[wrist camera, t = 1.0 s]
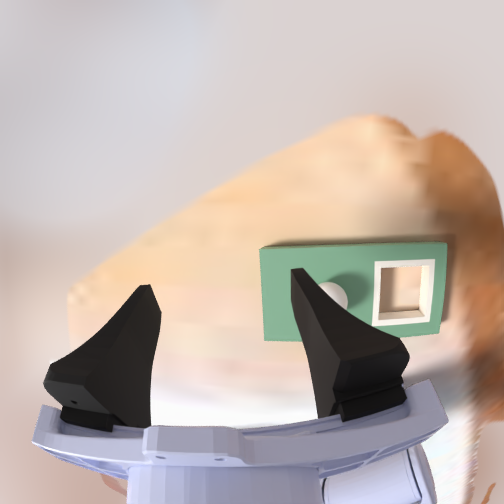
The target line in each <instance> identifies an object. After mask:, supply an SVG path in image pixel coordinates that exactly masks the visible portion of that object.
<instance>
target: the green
mask: <svg viewBox="0 0 504 504" xmlns="http://www.w3.org/2000/svg"><path fill="white" fill-rule="evenodd" d="M259 252H260V269H261V287H262V305H263V323H264V341H302V339H301V336H300V333H299V330H298V327H297V324H296V321H295V318H294V313H293V309H292V304H291V269H295V268H304V269H305V270H306V272H307V273H308V274H309V275H310V276H311V277H312V279H313V280H314V281H315V282H316V283H317V284H320V283H324V282H332V283H335V284H337V285H339V286H340V287H342V288H343V290H344V291H345V293H346V295H347V299H348V305H347V309H346V310H347V311H348V312H349V313H351V314H352V315H354V316H355V317H357V318H359V319H360V320H362V321H364V322H365V323H367V324H369V325H371V326H373V327H375V328H377V329H379V330H381V331H383V332H386V333H388V334H391V335H393V336H396V337H398V338H400V337H411V336H421V335H429V334H438V333H439V330H440V324H441V317H442V310H443V302H444V293H445V282H446V267H447V243H444V242H440V241H435V242H399V243H365V244H333V245H303V246H274V247H263V248H261V249H259ZM411 266H422V276H421V291H420V302H419V310H412V311H399V312H384V313H379V302H380V281H381V268H388V267H411Z"/></svg>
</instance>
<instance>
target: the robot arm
mask: <svg viewBox="0 0 504 504" xmlns="http://www.w3.org/2000/svg"><path fill="white" fill-rule="evenodd" d="M291 304H292V309H293V313H294V318H295V321H296V324H297V327H298V330H299V333H300V336H301V339H302V342H303V345H304V348H305V351H306V354H307V358H308V363H309V368H310V372H311V378H312V383H313V389H314V394H315V401H316V407H317V414H318V419H314V420H309V421H304V422H298V423H291V424H285V425H278V426H270V427H261V428H250V429H234V428H230V427H224V426H163V425H157V426H151V414H150V388H151V373H152V365H153V360H154V355H155V351H156V346H157V341H158V337H159V332H160V325H161V310H160V308H159V305H158V303H157V300H156V298H155V295H154V293H153V290H152V288H151V285H140V286H139V287H138V288H137V289H136V290H135V291H134V292H133V294H132V295H131V296H130V297H129V298H128V300H127V301H126V302H125V303H124V304H123V305H122V307H121V308H120V309H119V310H118V311H117V312H116V314H115V315H114V316H113V317H112V318H111V319H110V320H109V321H108V322H107V323H106V324H105V325H104V326H103V327H102V328H101V329H100V330H99V331H98V332H97V333H96V334H95V335H94V336H93V337H91V338H90V339H89V340H88V341H86V342H85V343H84V344H83V345H81V346H80V347H79V348H77V349H76V350H74V351H73V352H71V353H70V354H68V355H67V356H65V357H63V358H61V359H60V360H58V361H56V362H54V363H52V364H50V367H49V369H48V372H47V374H46V377H45V380H44V383H43V384H44V387H45V389H46V390H47V392H48V393H49V394H50V395H51V396H53V397H54V398H55V399H56V400H57V401H58V402H59V403H60V404H61V405H62V406H63V407H62V411H61V410H59V409H58V408H55V407H50V406H47V405H42V407H41V410H40V413H39V417H38V420H37V424H36V427H35V431H34V435H33V439H32V443H33V444H35V445H36V446H38V447H39V448H41V449H43V450H44V451H46V452H48V453H49V454H51V455H53V456H54V457H56V458H58V459H60V460H62V461H65V462H68V463H71V464H74V465H77V466H80V467H83V468H86V469H89V470H92V471H96V472H99V473H102V474H106V475H109V476H113V477H117V478H121V479H125V480H128V489H127V504H437V496H436V491H435V484H434V480H433V476H432V473H431V469H430V466H429V463H428V460H427V457H426V454H425V452H424V449H423V447H422V445H421V443H422V442H424V441H426V440H427V439H428V438H430V437H431V436H432V435H433V434H435V433H436V432H437V431H438V430H440V429H441V428H442V427H443V426H444V425H446V424H447V423H448V421H449V420H448V418H447V415H446V413H445V411H444V408H443V406H442V404H441V402H440V399H439V397H438V395H437V393H436V391H435V389H434V387H433V385H432V382H431V380H430V379H427V380H425V381H422V382H419V383H417V384H414V385H412V386H409V387H408V388H406V389H405V390H404V389H403V385H404V384H403V379H402V377H401V375H402V373H403V371H404V370H405V368H406V366H407V364H408V362H409V359H410V355H409V353H408V351H407V349H406V347H405V346H404V344H403V343H402V341H401V340H400V338H398V337H396V336H393V335H391V334H388V333H386V332H383V331H381V330H379V329H377V328H375V327H373V326H371V325H369V324H367V323H365V322H364V321H362V320H360V319H359V318H357V317H355V316H354V315H352V314H351V313H349V312H348V311H347V310H345V309H344V308H343V307H342V306H340V305H339V304H338V303H337V302H336V301H334V300H333V299H332V298H331V297H330V296H329V295H328V294H327V293H326V292H325V291H324V290H323V289H322V288H321V287H320V286H319V285H318V284H317V283H316V282H315V281H314V280H313V279H312V277H311V276H310V275H309V274H308V273H307V272H306V270H305V269H304V268H295V269H291Z"/></svg>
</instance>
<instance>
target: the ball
mask: <svg viewBox="0 0 504 504" xmlns="http://www.w3.org/2000/svg"><path fill="white" fill-rule="evenodd" d="M318 285H319V286H320V287H321V288H322V289H323V290H324V291H325V292H326V293H327V294H328V295H329V296H330V297H331V298H332V299H333V300H334V301H336V302H337V303H338V304H339V305H340V306H342V307H343V308H344V309H345V310H346V309H347V305H348V299H347V295H346V293H345V291H344V290H343V288H342V287H340V286H339V285H337V284H335V283H332V282H324V283H320V284H318Z"/></svg>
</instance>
